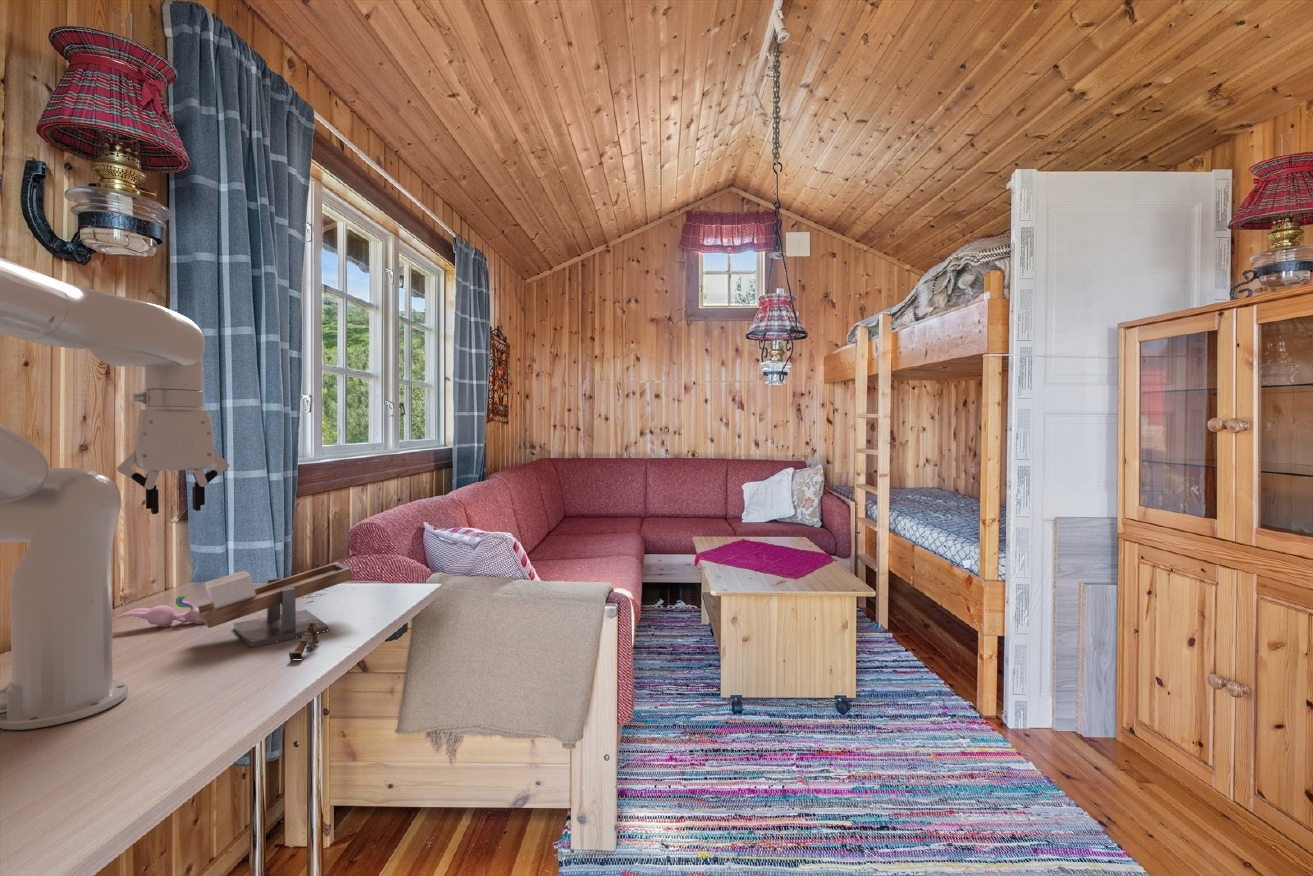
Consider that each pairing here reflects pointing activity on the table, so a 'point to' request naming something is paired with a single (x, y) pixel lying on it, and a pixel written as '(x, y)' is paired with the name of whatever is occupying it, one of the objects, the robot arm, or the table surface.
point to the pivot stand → (278, 622)
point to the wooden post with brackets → (306, 642)
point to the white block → (230, 590)
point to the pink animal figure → (167, 614)
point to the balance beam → (279, 593)
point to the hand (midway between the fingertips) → (176, 510)
